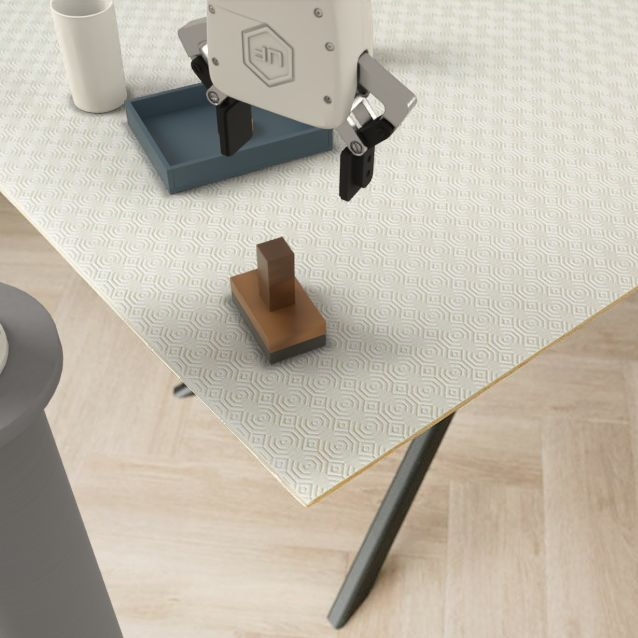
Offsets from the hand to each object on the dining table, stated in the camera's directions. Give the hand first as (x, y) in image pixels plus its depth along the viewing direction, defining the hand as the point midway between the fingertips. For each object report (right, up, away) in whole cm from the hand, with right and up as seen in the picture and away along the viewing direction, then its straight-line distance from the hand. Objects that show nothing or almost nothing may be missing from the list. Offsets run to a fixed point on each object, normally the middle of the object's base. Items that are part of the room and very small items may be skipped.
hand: (294, 167), depth 65 cm
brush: (-3, -10, +20) cm, 22 cm away
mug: (-26, +18, +44) cm, 54 cm away
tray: (-10, +11, +39) cm, 42 cm away
